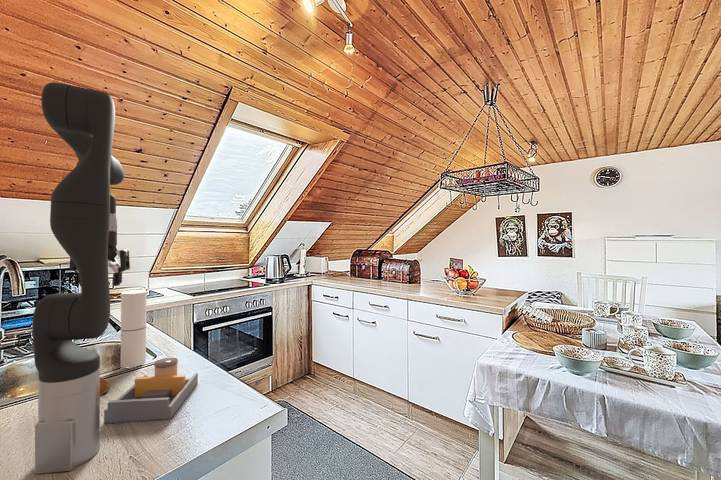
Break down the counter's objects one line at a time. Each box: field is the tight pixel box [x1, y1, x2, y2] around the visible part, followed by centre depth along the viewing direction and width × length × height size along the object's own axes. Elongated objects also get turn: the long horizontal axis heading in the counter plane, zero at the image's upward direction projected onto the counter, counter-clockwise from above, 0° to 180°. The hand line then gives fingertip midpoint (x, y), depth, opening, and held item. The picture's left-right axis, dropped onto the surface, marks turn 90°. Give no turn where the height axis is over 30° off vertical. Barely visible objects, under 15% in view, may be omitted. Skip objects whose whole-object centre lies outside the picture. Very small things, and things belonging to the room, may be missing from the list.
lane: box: [103, 372, 199, 425], centre depth 87 cm, size 19×15×5 cm
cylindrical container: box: [120, 289, 147, 369], centre depth 111 cm, size 7×7×25 cm
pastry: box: [100, 377, 111, 396], centre depth 92 cm, size 9×7×4 cm
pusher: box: [134, 374, 186, 399], centre depth 88 cm, size 4×12×5 cm, turn 99°
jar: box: [153, 357, 179, 376], centre depth 93 cm, size 6×6×8 cm
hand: (100, 285), depth 93 cm, fingers open, 8 cm apart
